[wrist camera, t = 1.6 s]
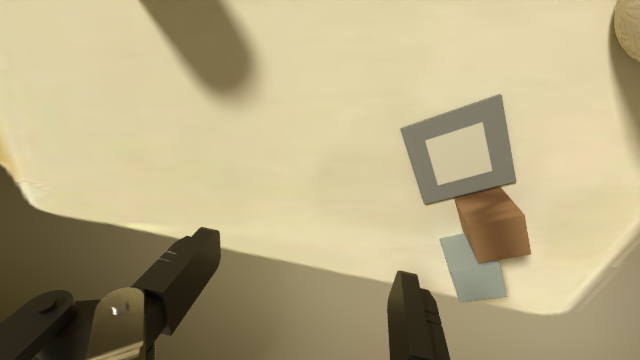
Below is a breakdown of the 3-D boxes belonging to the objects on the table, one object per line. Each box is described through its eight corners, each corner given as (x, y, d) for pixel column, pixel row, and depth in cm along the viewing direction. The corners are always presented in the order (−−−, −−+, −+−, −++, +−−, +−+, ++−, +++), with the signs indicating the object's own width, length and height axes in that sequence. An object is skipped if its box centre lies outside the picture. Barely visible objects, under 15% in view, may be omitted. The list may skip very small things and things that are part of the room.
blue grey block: (480, 229, 35) (499, 263, 30) (487, 259, 37) (506, 296, 32) (439, 238, 37) (450, 271, 31) (447, 266, 38) (459, 302, 33)
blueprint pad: (499, 94, 28) (501, 95, 27) (514, 179, 31) (516, 181, 31) (400, 128, 31) (400, 130, 31) (423, 202, 35) (424, 204, 34)
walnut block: (499, 186, 32) (524, 214, 27) (506, 220, 34) (531, 254, 29) (454, 197, 34) (468, 226, 29) (462, 230, 36) (478, 263, 30)
